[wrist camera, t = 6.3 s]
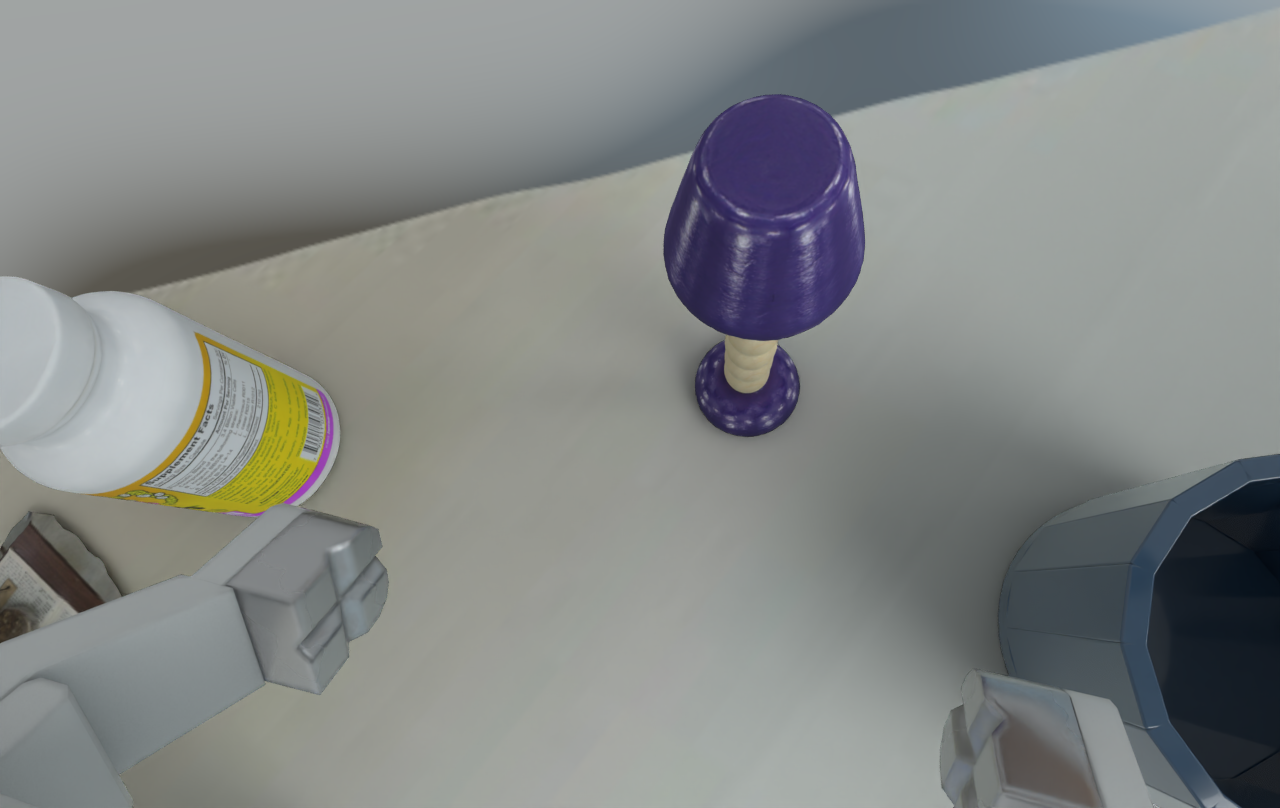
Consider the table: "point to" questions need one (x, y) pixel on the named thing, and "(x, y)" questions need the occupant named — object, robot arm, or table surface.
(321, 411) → the supplement bottle
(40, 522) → the decorative ornament
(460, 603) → the table surface
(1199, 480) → the pen cup
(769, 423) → the toy lamp
